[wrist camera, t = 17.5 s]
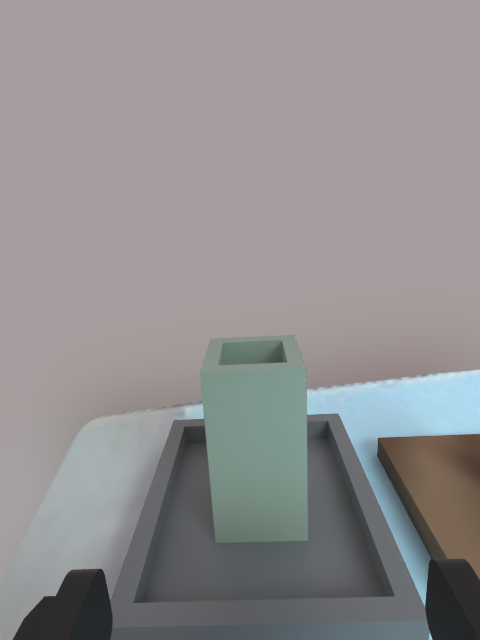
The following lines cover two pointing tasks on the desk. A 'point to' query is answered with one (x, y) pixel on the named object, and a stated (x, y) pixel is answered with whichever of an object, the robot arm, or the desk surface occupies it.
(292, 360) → the sleeve
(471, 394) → the desk surface
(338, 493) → the grey tray
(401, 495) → the board
